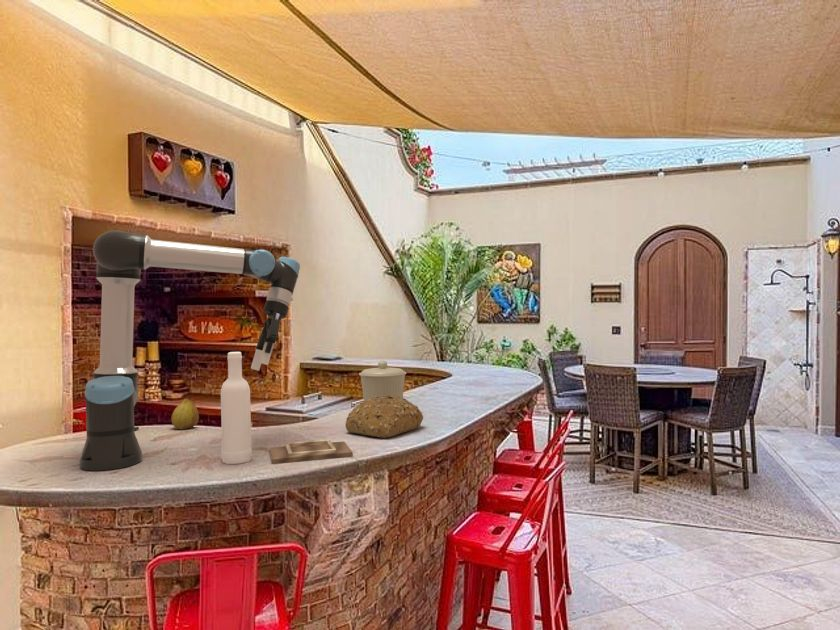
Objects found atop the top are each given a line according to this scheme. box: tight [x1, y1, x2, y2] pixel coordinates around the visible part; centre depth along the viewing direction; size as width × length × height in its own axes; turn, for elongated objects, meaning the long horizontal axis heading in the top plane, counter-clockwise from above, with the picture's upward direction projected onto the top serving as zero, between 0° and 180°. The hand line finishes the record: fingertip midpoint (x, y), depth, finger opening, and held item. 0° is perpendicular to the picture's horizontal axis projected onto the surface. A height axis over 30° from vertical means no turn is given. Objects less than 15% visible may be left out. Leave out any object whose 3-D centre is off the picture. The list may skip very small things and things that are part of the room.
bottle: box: [220, 351, 253, 465], centre depth 162 cm, size 8×8×30 cm
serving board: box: [269, 439, 354, 465], centre depth 168 cm, size 22×14×2 cm, turn 107°
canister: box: [358, 360, 407, 401], centre depth 224 cm, size 18×18×21 cm
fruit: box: [170, 393, 200, 430], centre depth 207 cm, size 9×9×12 cm
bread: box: [345, 395, 424, 439], centre depth 197 cm, size 24×21×12 cm
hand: (259, 366), depth 182 cm, fingers open, 13 cm apart
